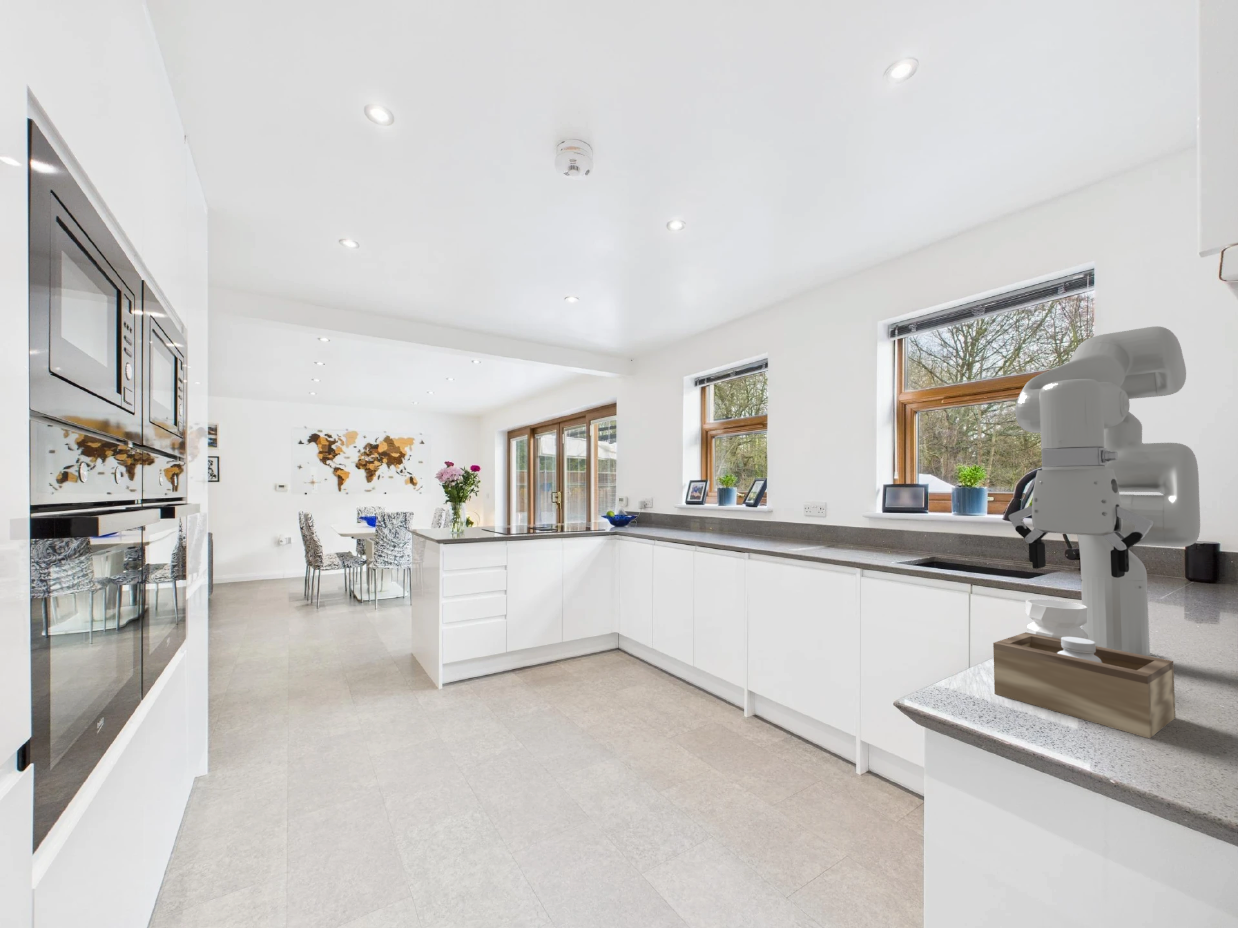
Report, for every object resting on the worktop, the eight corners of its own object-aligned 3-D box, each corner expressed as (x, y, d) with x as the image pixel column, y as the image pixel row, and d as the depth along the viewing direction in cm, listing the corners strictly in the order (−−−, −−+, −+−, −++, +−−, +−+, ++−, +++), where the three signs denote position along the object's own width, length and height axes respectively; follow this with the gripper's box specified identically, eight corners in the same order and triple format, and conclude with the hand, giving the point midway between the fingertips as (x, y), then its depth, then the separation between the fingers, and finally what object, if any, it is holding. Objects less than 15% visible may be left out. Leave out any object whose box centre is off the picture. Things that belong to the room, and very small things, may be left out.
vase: (1048, 661, 102) (1046, 597, 103) (1102, 676, 94) (1099, 607, 94) (1015, 665, 99) (1013, 600, 100) (1068, 682, 91) (1065, 610, 91)
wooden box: (1027, 679, 92) (1025, 632, 92) (1175, 717, 77) (1173, 660, 77) (994, 693, 85) (993, 642, 86) (1149, 738, 70) (1147, 676, 71)
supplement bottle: (1113, 713, 78) (1111, 646, 78) (1070, 710, 79) (1068, 643, 80) (1089, 699, 83) (1087, 636, 84) (1049, 696, 84) (1047, 634, 85)
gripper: (1157, 458, 78) (1162, 577, 77) (1017, 462, 92) (1021, 562, 92) (1141, 458, 74) (1146, 583, 73) (997, 462, 88) (1001, 567, 88)
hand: (1076, 571), depth 82 cm, fingers open, 9 cm apart
